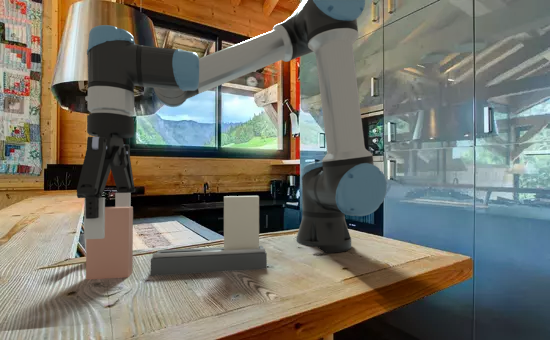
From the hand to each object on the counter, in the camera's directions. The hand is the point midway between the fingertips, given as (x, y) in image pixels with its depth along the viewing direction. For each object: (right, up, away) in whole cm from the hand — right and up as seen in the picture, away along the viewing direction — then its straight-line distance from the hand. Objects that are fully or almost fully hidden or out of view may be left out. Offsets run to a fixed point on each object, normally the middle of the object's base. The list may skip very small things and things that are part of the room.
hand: (110, 230), depth 53 cm
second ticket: (+23, -8, +6) cm, 25 cm away
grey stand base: (+17, -10, +5) cm, 21 cm away
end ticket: (0, -10, 0) cm, 10 cm away
